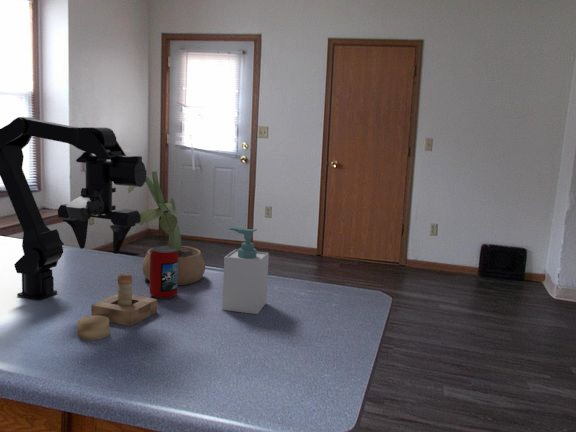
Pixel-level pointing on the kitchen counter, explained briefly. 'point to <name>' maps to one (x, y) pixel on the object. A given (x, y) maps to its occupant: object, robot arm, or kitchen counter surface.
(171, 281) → the beverage can
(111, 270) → the kitchen counter surface
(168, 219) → the potted plant
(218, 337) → the kitchen counter surface
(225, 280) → the soap bottle
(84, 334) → the tan rounded disc
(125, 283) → the wooden dowel
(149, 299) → the square wooden frame
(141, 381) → the kitchen counter surface
